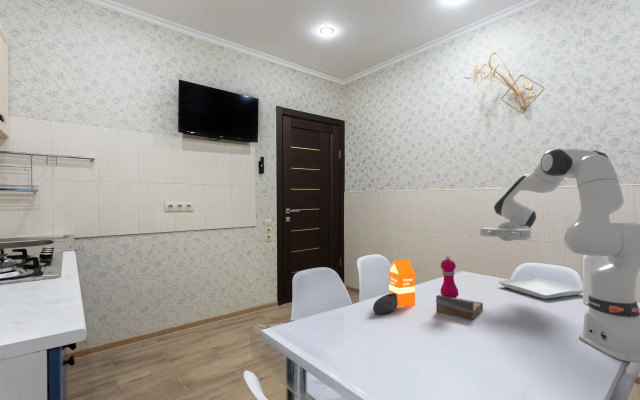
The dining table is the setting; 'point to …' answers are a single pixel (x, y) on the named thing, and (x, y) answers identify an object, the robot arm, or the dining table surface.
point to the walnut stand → (458, 307)
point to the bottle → (588, 267)
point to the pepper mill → (448, 278)
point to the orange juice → (402, 282)
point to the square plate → (541, 287)
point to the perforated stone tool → (386, 304)
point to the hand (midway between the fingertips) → (501, 233)
